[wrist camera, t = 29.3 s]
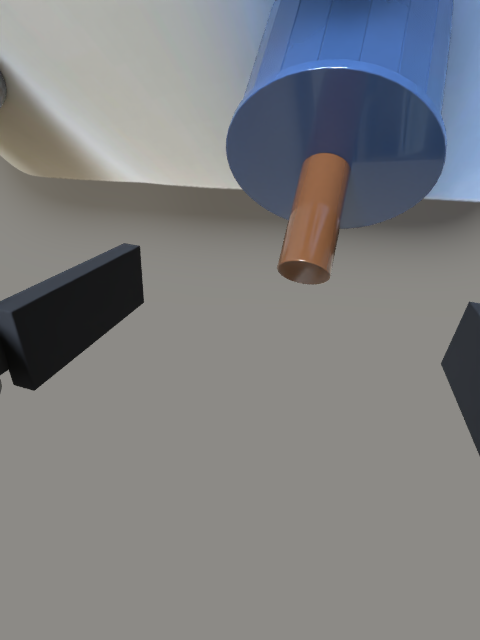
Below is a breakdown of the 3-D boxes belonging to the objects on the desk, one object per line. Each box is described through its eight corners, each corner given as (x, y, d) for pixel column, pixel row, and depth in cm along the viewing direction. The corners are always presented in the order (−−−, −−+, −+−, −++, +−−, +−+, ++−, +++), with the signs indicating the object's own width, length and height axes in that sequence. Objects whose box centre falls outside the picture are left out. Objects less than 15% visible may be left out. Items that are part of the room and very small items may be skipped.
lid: (190, 127, 23) (151, 238, 21) (390, -23, 13) (355, 157, 11) (302, 230, 32) (283, 316, 30) (474, 186, 22) (464, 310, 20)
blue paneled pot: (235, 24, 25) (196, 134, 23) (409, -150, 16) (379, 2, 14) (324, 139, 33) (303, 231, 31) (475, 66, 24) (464, 188, 22)
